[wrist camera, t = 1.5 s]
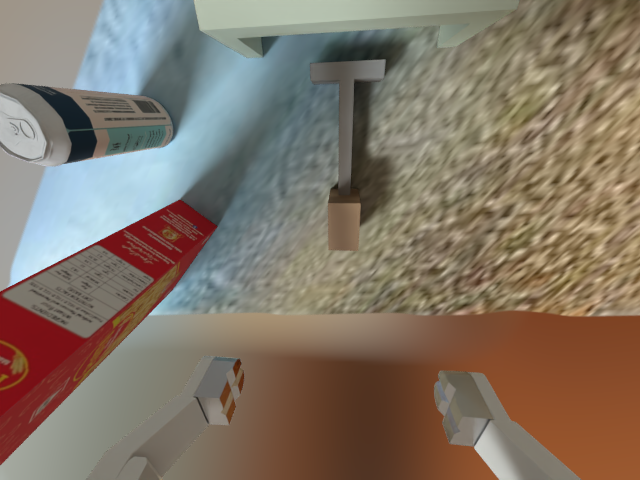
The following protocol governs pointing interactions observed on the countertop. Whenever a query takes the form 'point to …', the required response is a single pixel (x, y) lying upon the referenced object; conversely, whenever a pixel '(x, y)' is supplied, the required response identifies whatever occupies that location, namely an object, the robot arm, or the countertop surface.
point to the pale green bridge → (342, 18)
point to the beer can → (77, 124)
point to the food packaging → (86, 312)
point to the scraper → (345, 146)
